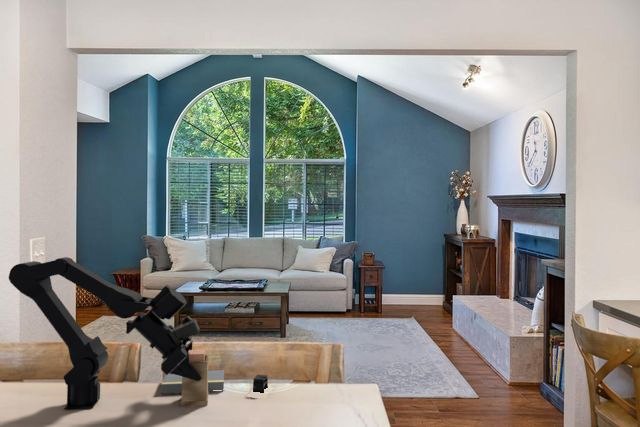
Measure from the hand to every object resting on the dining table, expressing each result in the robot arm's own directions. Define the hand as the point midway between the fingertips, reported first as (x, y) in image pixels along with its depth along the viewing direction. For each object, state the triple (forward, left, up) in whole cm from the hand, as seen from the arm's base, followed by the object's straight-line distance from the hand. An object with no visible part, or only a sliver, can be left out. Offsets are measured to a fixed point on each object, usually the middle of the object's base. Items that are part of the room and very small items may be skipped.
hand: (201, 374), depth 123 cm
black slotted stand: (+15, +4, -7) cm, 18 cm away
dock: (-2, +11, -7) cm, 13 cm away
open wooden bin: (-1, 0, -7) cm, 7 cm away
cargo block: (-1, 0, +3) cm, 4 cm away
